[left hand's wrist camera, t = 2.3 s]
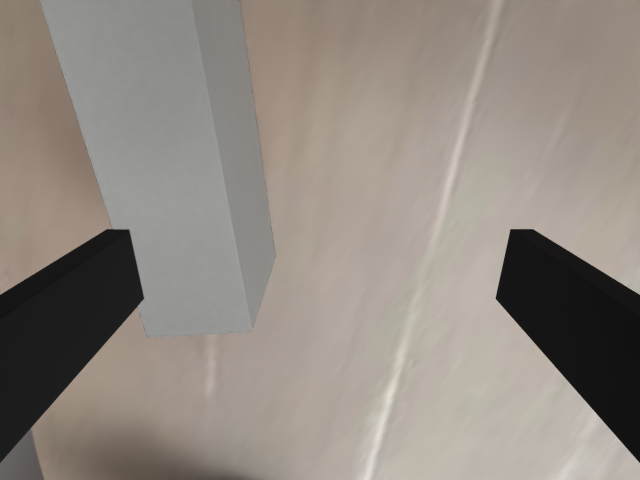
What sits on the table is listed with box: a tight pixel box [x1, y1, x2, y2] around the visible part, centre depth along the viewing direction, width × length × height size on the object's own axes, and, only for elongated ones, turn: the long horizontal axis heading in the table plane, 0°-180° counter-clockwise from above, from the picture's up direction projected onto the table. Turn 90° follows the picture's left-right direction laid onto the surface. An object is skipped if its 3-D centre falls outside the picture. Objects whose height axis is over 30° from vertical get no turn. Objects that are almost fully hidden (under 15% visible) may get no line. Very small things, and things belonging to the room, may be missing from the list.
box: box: [39, 0, 276, 338], centre depth 24 cm, size 28×7×12 cm, turn 5°
